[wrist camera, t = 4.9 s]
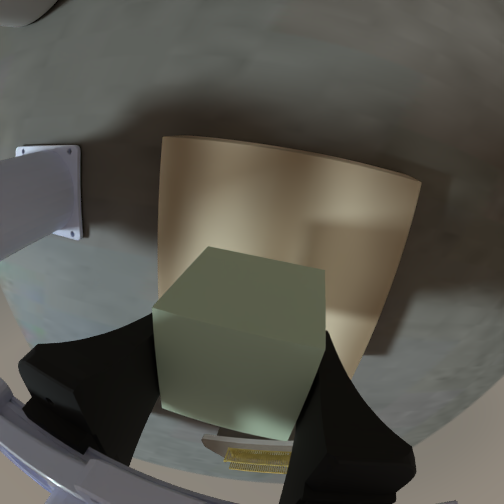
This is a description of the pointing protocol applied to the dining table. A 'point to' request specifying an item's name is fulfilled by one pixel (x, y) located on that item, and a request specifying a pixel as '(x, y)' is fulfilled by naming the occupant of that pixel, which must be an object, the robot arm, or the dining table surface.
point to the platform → (250, 449)
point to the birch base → (289, 221)
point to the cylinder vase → (22, 11)
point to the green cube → (240, 341)
